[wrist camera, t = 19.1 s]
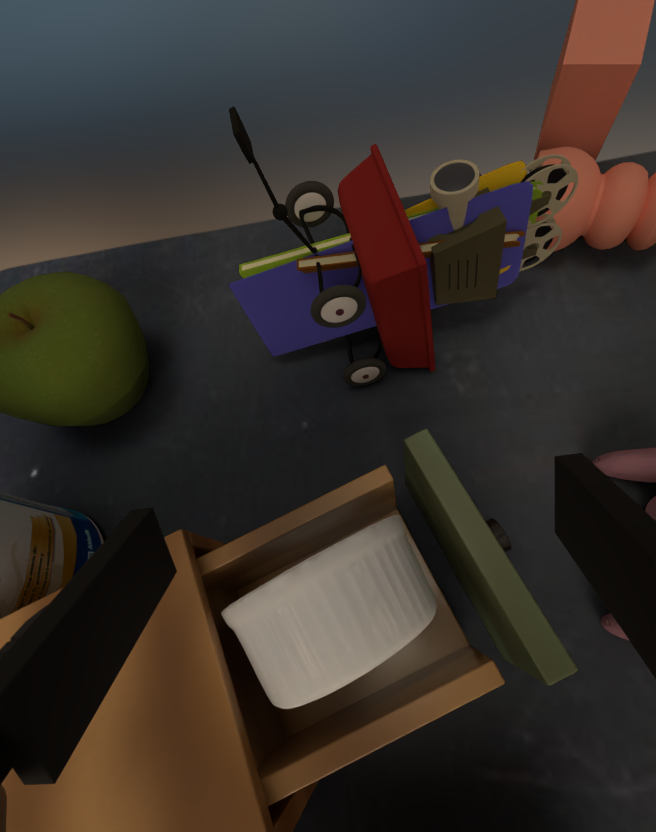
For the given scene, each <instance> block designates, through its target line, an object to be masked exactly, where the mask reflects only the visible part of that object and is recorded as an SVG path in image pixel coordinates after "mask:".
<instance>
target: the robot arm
mask: <svg viewBox="0 0 656 832" xmlns="http://www.w3.org/2000/svg"><path fill="white" fill-rule="evenodd" d="M555 533H556V534H557V536H558V537H559V539H560V540H561V542H562V543H563V545H564V546H565V548H566V549H567V550H568V552H569V553H570V555H571V556H572V558H573V559H574V561H575V562H576V564H577V565H578V566H579V568H580V569H581V571H582V572H583V574H584V575H585V577H586V578H587V580H588V581H589V582H590V584H591V585H592V587H593V588H594V590H595V591H596V593H597V594H598V595H599V597H600V598H601V600H602V601H603V603H604V604H605V606H606V607H607V609H608V610H609V611H610V613H611V614H612V616H613V617H614V619H615V620H616V622H617V623H618V625H619V626H620V627H621V629H622V630H623V632H624V633H625V635H626V636H627V638H628V639H629V641H630V642H631V643H632V645H633V646H634V648H635V649H636V651H637V652H638V654H639V655H640V656H641V658H642V659H643V661H644V662H645V664H646V665H647V667H648V668H649V670H650V671H651V672H652V674H653V675H654V677H655V678H656V521H655V520H654V519H653V518H652V517H651V516H650V515H649V514H648V513H647V512H645V511H644V510H643V509H642V508H641V507H640V506H639V505H638V504H637V503H636V502H635V501H633V500H632V499H631V498H630V497H629V496H628V495H627V494H626V493H625V492H624V491H623V490H621V489H620V488H619V487H618V486H617V485H616V484H615V483H614V482H613V481H612V480H611V479H609V478H608V477H607V476H606V475H605V474H604V473H603V472H602V471H601V470H600V469H599V468H597V467H596V466H595V465H594V464H593V463H592V462H591V461H590V460H589V459H588V458H587V457H585V456H584V455H583V454H582V453H578V454H570V455H563V456H555ZM176 573H177V570H176V567H175V565H174V562H173V559H172V557H171V554H170V552H169V549H168V546H167V544H166V541H165V539H164V536H163V534H162V531H161V528H160V526H159V523H158V521H157V518H156V516H155V513H154V510H153V508H146V509H138V510H132V511H131V512H130V513H129V514H128V515H127V516H126V518H125V519H124V520H123V521H122V522H121V523H120V524H119V526H118V527H117V528H116V529H115V530H114V531H113V532H112V533H111V535H110V536H109V537H108V538H107V539H106V540H105V541H104V542H103V544H102V545H101V546H100V547H99V548H98V549H97V550H96V551H95V553H94V554H93V555H92V556H91V557H90V558H89V559H88V561H87V562H86V563H85V564H84V565H83V566H82V567H81V568H80V570H79V571H78V572H77V573H76V574H75V575H74V576H73V577H72V579H71V580H70V581H69V582H68V583H67V584H66V585H65V587H64V588H63V589H62V590H61V591H60V592H59V593H58V594H57V596H56V597H55V598H54V599H53V600H52V601H51V602H50V603H49V605H46V606H45V607H43V608H42V609H41V610H40V611H38V612H37V613H36V614H34V615H33V616H32V617H30V618H29V619H28V620H27V621H26V622H25V623H24V624H23V625H22V626H21V627H20V628H19V629H18V630H17V631H16V633H15V634H14V635H13V636H12V637H11V638H10V639H11V640H10V641H9V642H6V644H5V645H4V646H3V647H2V648H1V649H0V832H6V815H7V795H6V791H5V788H4V787H3V786H2V782H3V781H4V779H5V778H6V776H7V775H8V774H9V772H10V771H11V769H12V768H13V770H14V771H15V772H16V774H17V775H18V777H19V778H20V780H21V781H22V782H23V784H24V785H39V784H55V783H56V781H57V780H58V778H59V776H60V774H61V773H62V771H63V769H64V767H65V766H66V764H67V762H68V761H69V759H70V757H71V755H72V754H73V752H74V750H75V748H76V747H77V745H78V743H79V741H80V740H81V738H82V736H83V734H84V733H85V731H86V729H87V727H88V726H89V724H90V722H91V721H92V719H93V717H94V715H95V714H96V712H97V710H98V708H99V707H100V705H101V703H102V701H103V700H104V698H105V696H106V694H107V693H108V691H109V689H110V687H111V686H112V684H113V682H114V680H115V679H116V677H117V675H118V674H119V672H120V670H121V668H122V667H123V665H124V663H125V661H126V660H127V658H128V656H129V654H130V653H131V651H132V649H133V647H134V646H135V644H136V642H137V640H138V639H139V637H140V635H141V634H142V632H143V630H144V628H145V627H146V625H147V623H148V621H149V620H150V618H151V616H152V614H153V613H154V611H155V609H156V607H157V606H158V604H159V602H160V600H161V599H162V597H163V595H164V593H165V592H166V590H167V588H168V587H169V585H170V583H171V581H172V580H173V578H174V576H175V574H176Z"/></svg>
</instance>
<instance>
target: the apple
mask: <svg viewBox="0 0 656 832" xmlns="http://www.w3.org/2000/svg"><path fill="white" fill-rule="evenodd" d="M148 377H149V362H148V355H147V348H146V342H145V339H144V336H143V334H142V331H141V329H140V326H139V324H138V322H137V320H136V318H135V316H134V314H133V312H132V310H131V308H130V306H129V304H128V302H127V300H126V298H125V297H124V296H123V295H121V294H120V293H119V292H118V291H116V290H115V289H114V288H112V287H111V286H110V285H109V284H107V283H104V282H102V281H99V280H97V279H94V278H91V277H89V276H86V275H81V274H76V273H72V272H67V271H65V272H57V273H50V274H43V275H38V276H35V277H32V278H29V279H27V280H25V281H23V282H21V283H19V284H17V285H15V286H13V287H11V288H9V289H8V290H6V291H5V292H4V293H2V294H1V295H0V412H1V413H4V414H7V415H11V416H14V417H17V418H21V419H25V420H29V421H33V422H38V423H42V424H47V425H51V426H93V425H99V424H105V423H108V422H110V421H112V420H115V419H117V418H119V417H121V416H123V415H125V414H126V413H127V412H128V411H129V410H130V409H131V408H132V407H133V406H134V405H135V404H137V403H138V402H139V401H140V400H141V397H142V395H143V393H144V390H145V388H146V386H147V384H148Z"/></svg>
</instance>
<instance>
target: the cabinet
mask: <svg viewBox="0 0 656 832" xmlns="http://www.w3.org/2000/svg"><path fill="white" fill-rule="evenodd" d="M164 539H165V541H166V544H167V546H168V549H169V552H170V554H171V557H172V559H173V562H174V565H175V567H176V570H177V573H176V574H175V576H174V578H173V580H172V581H171V583H170V585H169V587H168V588H167V590H166V592H165V593H164V595H163V597H162V599H161V600H160V602H159V604H158V606H157V607H156V609H155V611H154V613H153V614H152V616H151V618H150V620H149V621H148V623H147V625H146V627H145V628H144V630H143V632H142V634H141V635H140V637H139V639H138V640H137V642H136V644H135V646H134V647H133V649H132V651H131V653H130V654H129V656H128V658H127V660H126V661H125V663H124V665H123V667H122V668H121V670H120V672H119V674H118V675H117V677H116V679H115V680H114V682H113V684H112V686H111V687H110V689H109V691H108V693H107V694H106V696H105V698H104V700H103V701H102V703H101V705H100V707H99V708H98V710H97V712H96V714H95V715H94V717H93V719H92V721H91V722H90V724H89V726H88V727H87V729H86V731H85V733H84V734H83V736H82V738H81V740H80V741H79V743H78V745H77V747H76V748H75V750H74V752H73V754H72V755H71V757H70V759H69V761H68V762H67V764H66V766H65V767H64V769H63V771H62V773H61V774H60V776H59V778H58V780H57V781H56V783H55V784H39V785H24V784H23V782H22V781H21V780H20V778H19V777H18V775H17V774H16V772H15V771H14V770H13V768H12V769H11V771H10V772H9V774H8V775H7V776H6V778H5V779H4V781H3V782H2V786H3V787H4V788H5V791H6V795H7V815H6V832H293V830H294V828H295V826H296V824H297V822H298V820H299V818H300V816H301V814H302V812H303V810H304V808H305V806H306V804H307V802H308V800H309V798H310V796H311V795H312V793H313V791H314V789H315V787H316V785H317V783H318V781H319V780H318V781H316V782H314V783H312V784H310V785H308V786H306V787H305V788H303V789H301V790H299V791H297V792H295V793H293V794H291V795H289V796H287V797H285V798H283V799H281V800H279V801H278V802H276V803H274V804H272V805H270V806H267V802H266V799H265V796H264V792H263V789H262V785H261V782H260V778H259V775H258V771H257V768H256V764H255V761H254V758H253V754H252V751H251V747H250V744H249V740H248V737H247V733H246V730H245V726H244V723H243V719H242V716H241V713H240V709H239V706H238V702H237V699H236V695H235V692H234V688H233V685H232V681H231V678H230V674H229V671H228V668H227V664H226V661H225V657H224V654H223V650H222V647H221V643H220V640H219V636H218V633H217V630H216V626H215V623H214V619H213V616H212V612H211V609H210V605H209V602H208V598H207V595H206V591H205V588H204V585H203V581H202V578H201V574H200V571H199V567H198V564H197V560H196V559H197V558H199V557H201V556H203V555H205V554H207V553H209V552H211V551H213V550H215V549H217V548H219V547H221V546H223V545H225V544H226V543H223V542H220V541H217V540H214V539H210V538H207V537H204V536H201V535H198V534H195V533H192V532H188V531H186V530H183V529H180V530H178V531H176V532H174V533H172V534H170V535H168V536H166V537H164ZM63 588H64V587H63ZM63 588H61V589H59V590H57V591H55V592H53V593H51V594H49V595H47V596H45V597H43V598H41V599H39V600H37V601H35V602H33V603H31V604H29V605H27V606H25V607H23V608H21V609H19V610H17V611H15V612H13V613H11V614H9V615H7V616H5V617H3V618H1V619H0V649H1V648H2V647H3V646H4V645H5V644H6V642H9V641H10V640H11V639H10V638H11V637H12V636H13V635H14V634H15V633H16V631H17V630H18V629H19V628H20V627H21V626H22V625H23V624H24V623H25V622H26V621H27V620H28V619H29V618H30V617H32V616H33V615H34V614H36V613H37V612H38V611H40V610H41V609H42V608H43V607H45V606H46V605H49V603H50V602H51V601H52V600H53V599H54V598H55V597H56V596H57V594H58V593H59V592H60V591H61V590H62V589H63Z"/></svg>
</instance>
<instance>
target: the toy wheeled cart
mask: <svg viewBox="0 0 656 832" xmlns="http://www.w3.org/2000/svg"><path fill="white" fill-rule="evenodd" d="M229 113H230V118H231V123H232V129H233V134H234V136H235V138H236V140H237V142H238V144H239V146H240V148H241V150H242V152H243V154H244V155H245V157H246V159H247V160H248V162H249V164H250V163H254V165H255V168H256V169H257V172H258V174H259V176H260V178H261V180H262V182H263V184H264V186H265V188H266V190H267V192H268V194H269V196H270V198H271V200H272V202H273V204H274V208H273V215H274V217H275V218H276V219H277V220H283V221H284V222H285V223H286V224H287V225H288V226H289V227H290V229H291V230H292V231H293V232H294V233H295V234H296V235H297V236H298V237H299V239H300V240H301V241H302V242H303V243H304V244H305V245H306V246H303V247H300V248H296V249H293V250H289V251H286V252H282V253H279V254H275V255H272V256H268V257H265V258H262V259H258V260H255V261H251V262H248V263H244V264H241V265H239V273H240V275H241V276H242V277H243V279H241V280H238V281H235V282H232V283H230V284H228V285H229V287H230V288H231V290H232V292H233V293H234V295H235V296H236V298H237V300H238V301H239V303H240V305H241V306H242V308H243V309H244V311H245V313H246V314H247V316H248V317H249V319H250V321H251V322H252V324H253V326H254V327H255V329H256V330H257V332H258V334H259V335H260V337H261V338H262V340H263V342H264V343H265V345H266V346H267V348H268V350H269V351H270V353H271V354H272V356H273V357H275V356H279V355H282V354H285V353H289V352H292V351H295V350H298V349H302V348H305V347H308V346H312V345H315V344H318V343H323V342H326V341H328V340H332V339H335V338H338V337H342V336H345V335H346V338H347V345H348V352H349V359H350V363H351V364H350V365H349V366H348V367H347V368H346V369H345V371H344V373H343V379H344V380H345V382H346V383H347V384H349V385H352V386H365V385H369V384H372V383H374V382H376V381H377V380H379V379H380V378H381V377H382V376H383V375H384V374H385V372H386V365H385V363H384V362H383V361H382V360H380V359H377V358H378V357H379V355H380V352H381V349H382V344H383V347H384V350H385V353H386V356H387V358H388V360H389V362H390V364H391V365H392V366H394V367H396V368H424V367H428V368H429V370H430V372H433V371H435V358H434V346H433V333H432V321H431V309H434V308H438V307H441V306H444V305H448V304H452V303H460V302H468V301H476V300H484V299H492V298H496V294H497V289H499V288H502V287H504V286H507V285H509V284H511V283H512V282H513V281H514V280H515V279H516V278H517V276H518V274H519V271H523V270H526V269H529V268H531V267H533V266H535V265H537V264H539V263H540V262H542V261H543V260H544V259H546V258H547V257H548V256H549V255H550V254H551V253H552V252H553V251H554V250H555V249H556V248H557V246H558V244H559V243H560V240H561V238H562V230H561V228H560V227H559V226H558V225H557V224H556V221H555V219H554V217H553V216H554V215H555V214H557V213H558V212H559V211H560V210H561V209H562V208H563V207H564V206H565V205H566V204H567V203H568V202H569V200H570V199H571V198H572V196H573V194H574V193H575V190H576V188H577V185H578V174H577V171H576V170H575V169H574V168H573V167H572V166H571V164H570V162H569V160H568V159H567V158H566V157H564V156H562V155H557V154H553V155H547V156H543V157H540V158H538V159H536V160H534V161H532V162H531V163H529V164H527V165H525V163H524V162H523V161H518V162H514V163H511V164H508V165H505V166H503V167H501V168H498V169H496V170H494V171H491V172H489V173H487V174H485V175H482V176H481V174H480V173H479V169H478V167H477V166H476V165H475V164H474V163H472V162H470V161H467V160H452V161H449V162H446V163H444V164H442V165H440V166H439V167H438V168H437V169H436V170H434V172H433V173H432V175H431V178H430V189H431V198H430V199H428V200H426V201H424V202H422V203H419V204H417V205H415V206H413V207H410V208H408V209H406V210H404V208H403V205H402V203H401V201H400V198H399V196H398V194H397V191H396V189H395V187H394V184H393V182H392V180H391V177H390V175H389V172H388V170H387V168H386V165H385V163H384V161H383V158H382V156H381V154H380V151H379V149H378V147H377V145H376V144H374V145H372V146H371V155H370V156H369V157H368V158H367V159H365V160H364V161H363V162H362V163H361V164H359V165H358V166H357V167H356V168H355V169H354V170H352V171H351V172H350V173H349V174H348V175H347V176H346V177H345V178H344V179H343V180H342V181H341V182H340V184H339V188H338V195H339V202H340V206H341V209H342V213H343V215H342V213H341V212H340V211H338V210H337V209H335V208H333V206H334V198H333V194H332V192H331V191H330V189H329V188H328V187H327V186H326V185H324V184H323V183H320V182H317V181H306V182H303V183H300V184H299V185H297V186H295V187H294V188H293V189H292V190H291V191H290V193H289V194H288V196H287V199H286V204H285V205H283V204H278V203H277V201H276V199H275V197H274V195H273V193H272V191H271V189H270V187H269V185H268V183H267V181H266V179H265V178H264V175H263V173H262V171H261V170H260V168H259V165H258V164H257V162H256V160H255V158H254V155H253V150H252V146H251V141H250V139H249V137H248V135H247V132H246V130H245V128H244V126H243V123H242V121H241V120H240V117H239V115H238V113H237V111H236V109H235V107H232V108H230V109H229ZM552 158H557V159H560V160H562V162H561V164H558V165H555V164H550V165H545V166H542V164H543V162H544V161H545V160H547V159H552ZM527 170H529V172H530V173H529V174H528V175H527ZM572 182H574V186H573V189H572V191H571V193H570V194H569V196H568V197H567V198H566V199H565V200H563V201H560V199H561V198H562V197H563V195H564V194H565V192H566V190H567V187H568V184H570V183H572ZM549 210H551V211H552V212H551V214H547V213H546V212H547V211H549ZM331 213H334V214H336V215H338V216H339V217H340V218H341V219H342V220H343V222H344V224H345V226H346V229H347V233H348V234H345V235H341V236H338V237H334V238H331V239H327V240H324V241H320V242H317V243H314V241H313V238H312V236H311V234H310V232H309V230H308V228H307V227H314V226H317V225H319V224H321V223H323V222H324V221H325V220H326V219H327V218H328V217H329V216H330V214H331ZM287 216H288V217H289V219H290V220H291V221H292V222H293V223H294V224H296V225H298V226H301V227H303V228H304V230H305V232H306V235H307V237H308V239H309V241H310V244H309V242H308V241H307V240H306V239H305V238H304V237H303V235H302V234H301V233H300V232H299V231H298V229H297V228H296V227H295V226H294V225H293V223H292V222H291V221H290V220H289V219H288V218H287ZM539 216H544V217H546V218H544V219H542V220H540V221H537V222H536V218H537V217H539ZM551 227H553V229H551ZM555 236H559V237H558V240H557V242H556V244H555V245H554V246H553V248H552V249H550V250H546V249H547V248H548V247H549V246H550V244H551V242H552V240H553V237H555ZM537 257H539V258H540V259H539V260H538V261H537V262H536V263H534V264H532V265H530V266H527V267H523V268H522V265H523V264H524V263H527V262H530V261H531V260H533V259H535V258H537ZM375 326H376V329H377V331H378V335H379V348H378V350H377V352H376V354H375V355H374V357H373V358H364V359H360V360H357V361H355V362H354V361H353V354H352V346H351V340H350V334H352V333H355V332H358V331H361V330H365V329H368V328H371V327H375Z"/></svg>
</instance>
